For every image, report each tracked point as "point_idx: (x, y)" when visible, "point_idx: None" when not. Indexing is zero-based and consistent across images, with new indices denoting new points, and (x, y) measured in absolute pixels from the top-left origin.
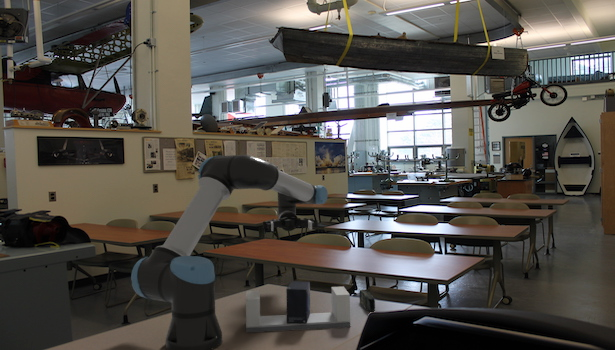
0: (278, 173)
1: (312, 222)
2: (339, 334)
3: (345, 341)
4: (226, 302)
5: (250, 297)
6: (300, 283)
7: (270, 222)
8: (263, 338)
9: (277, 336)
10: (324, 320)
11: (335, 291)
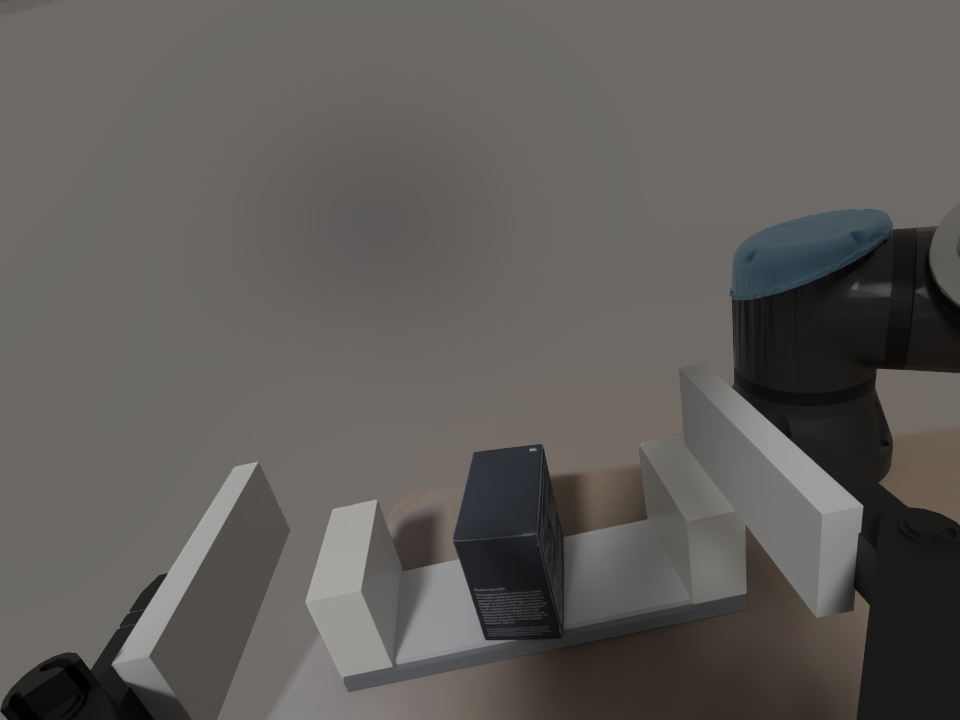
0: None
1: (131, 631)
2: (413, 537)
3: (410, 504)
4: None
5: (679, 449)
6: (493, 499)
7: (880, 529)
8: (620, 495)
9: (584, 509)
10: (439, 574)
11: (366, 534)
